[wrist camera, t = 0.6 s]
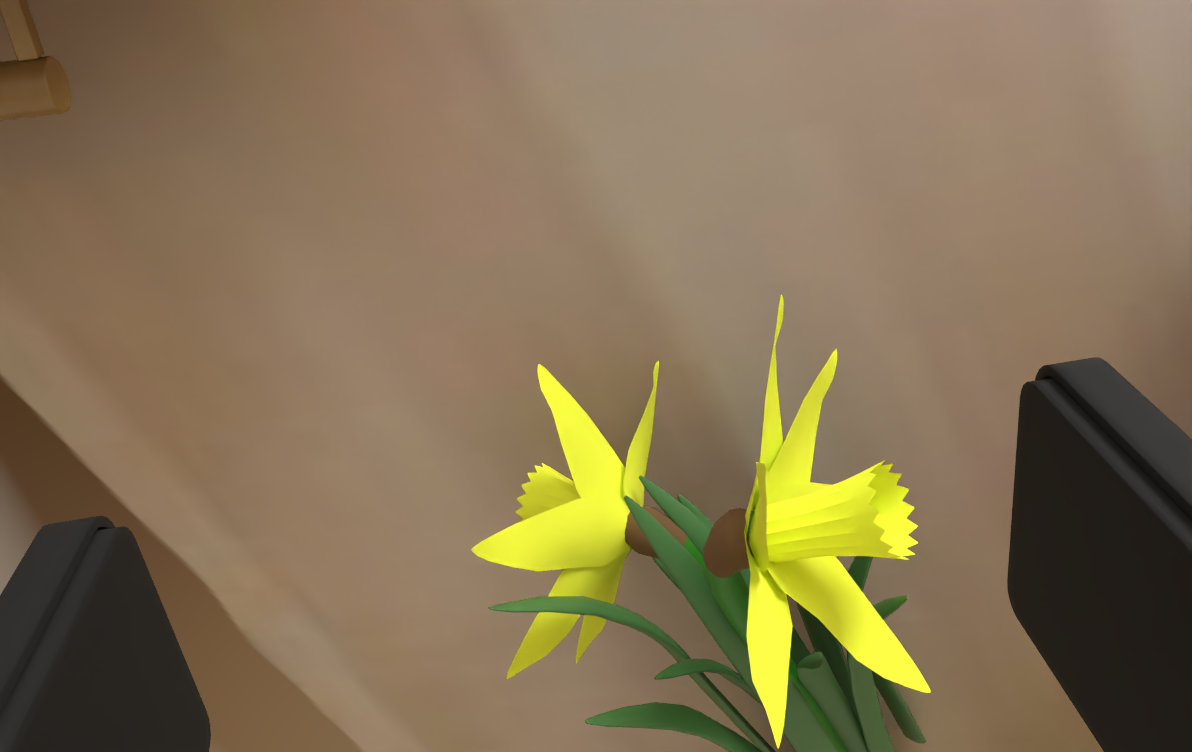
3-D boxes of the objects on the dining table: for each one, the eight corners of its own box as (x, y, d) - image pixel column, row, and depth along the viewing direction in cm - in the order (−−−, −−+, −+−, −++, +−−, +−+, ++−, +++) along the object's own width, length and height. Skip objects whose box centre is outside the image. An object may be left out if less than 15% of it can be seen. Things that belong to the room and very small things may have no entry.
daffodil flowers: (659, 832, 58) (263, 452, 34) (822, 617, 62) (570, 146, 38) (935, 1075, 46) (625, 759, 23) (1113, 793, 50) (1009, 274, 27)
